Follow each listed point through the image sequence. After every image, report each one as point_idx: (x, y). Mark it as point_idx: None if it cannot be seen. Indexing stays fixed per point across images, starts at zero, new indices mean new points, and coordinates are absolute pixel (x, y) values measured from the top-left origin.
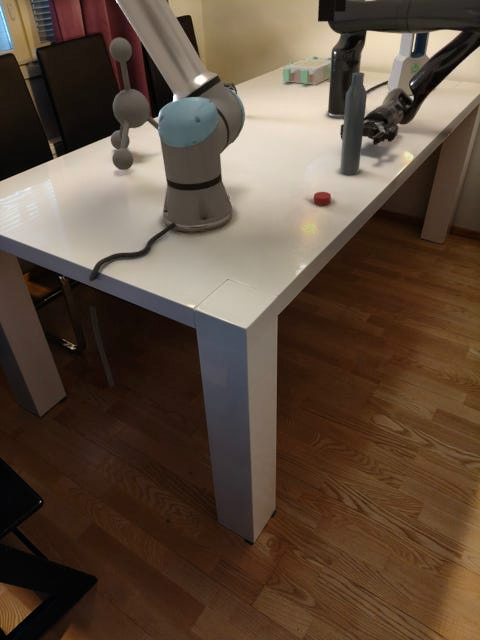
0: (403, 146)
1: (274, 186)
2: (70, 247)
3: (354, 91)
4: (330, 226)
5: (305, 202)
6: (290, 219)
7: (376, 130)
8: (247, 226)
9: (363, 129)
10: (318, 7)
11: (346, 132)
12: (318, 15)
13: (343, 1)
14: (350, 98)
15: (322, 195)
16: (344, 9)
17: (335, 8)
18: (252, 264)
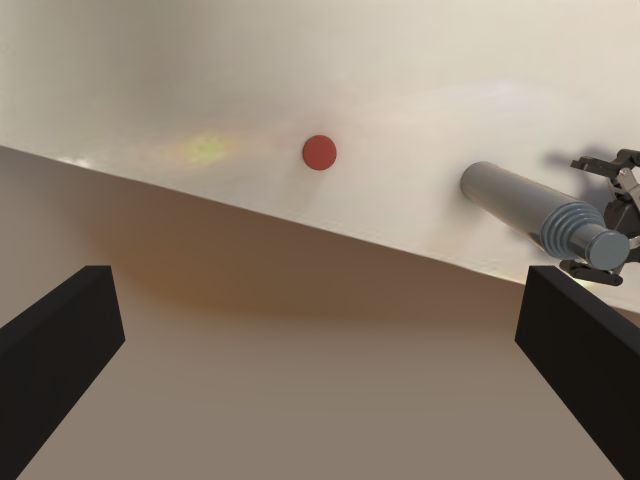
0: (630, 273)
1: (381, 29)
2: None
3: (556, 231)
4: (225, 183)
5: (311, 119)
6: (231, 106)
7: None
8: (177, 25)
9: (617, 209)
10: (41, 298)
11: (502, 190)
12: (68, 280)
13: (543, 360)
14: (542, 216)
15: (317, 154)
16: (519, 343)
17: (531, 298)
18: (52, 80)
